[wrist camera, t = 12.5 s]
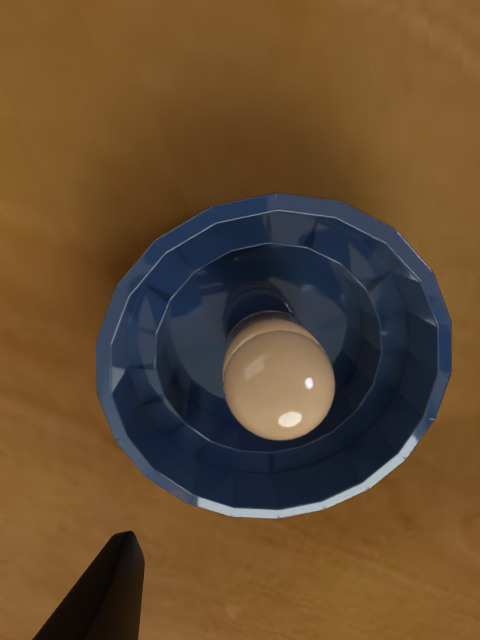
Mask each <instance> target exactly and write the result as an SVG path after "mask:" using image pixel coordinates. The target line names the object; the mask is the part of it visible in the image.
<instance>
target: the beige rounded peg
mask: <svg viewBox="0 0 480 640" xmlns="http://www.w3.org/2000/svg"><path fill="white" fill-rule="evenodd" d="M223 390H224V396H225V400H226V403H227V405H228V408H229V409H230V411H231V413H232V414H233V416H234V417H235V419H236V420H237V421H238V422H239V423H240V424H241V425H242V426H243V427H244V428H245V429H247V430H248V431H250V432H251V433H253V434H254V435H256V436H259V437H261V438H263V439H268V440H273V441H285V440H292V439H296V438H299V437H302V436H304V435H306V434H308V433H310V432H311V431H312V430H314V429H315V428H317V427H318V426H319V425H320V424H321V423H322V422H323V420H324V419H325V417H326V416H327V415H328V413H329V410H330V408H331V406H332V403H333V401H334V396H335V374H334V370H333V367H332V364H331V362H330V360H329V358H328V356H327V354H326V352H325V351H324V350H323V348H322V347H321V345H320V344H319V343H318V341H317V340H316V338H315V337H314V336H313V334H312V333H311V332H310V330H309V329H308V328H307V326H306V325H305V324H304V323H302V322H301V321H300V320H299V319H297V318H296V317H295V316H293V315H291V314H289V313H286V312H282V311H278V310H264V311H258V312H255V313H252V314H250V315H248V316H246V317H244V318H243V319H242V320H241V321H239V322H238V323H237V324H236V325H235V326H234V327H233V328H232V330H231V331H230V333H229V335H228V337H227V339H226V342H225V345H224V349H223Z"/></svg>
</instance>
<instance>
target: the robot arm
mask: <svg viewBox="0 0 480 640" xmlns="http://www.w3.org/2000/svg"><path fill="white" fill-rule="evenodd" d="M144 567H145V562H144V556H143V553H142V550H141V548H140V546H139V543H138V541H137V538H136V536H135V534H134V533H133V532H132V531H126V532H121V533H117V534H115V535H113V536H112V537H111V538H110V540H109V541H108V542H107V544H106V545H105V546H104V547H103V549H102V550H101V551H100V553H99V554H98V555H97V557H96V558H95V559H94V560H93V562H92V563H91V564H90V566H89V567H88V568H87V570H86V571H85V572H84V573H83V575H82V576H81V577H80V579H79V580H78V581H77V583H76V584H75V585H74V586H73V588H72V589H71V590H70V592H69V593H68V594H67V595H66V597H65V598H64V599H63V601H62V602H61V603H60V605H59V606H58V607H57V608H56V610H55V611H54V612H53V614H52V615H51V616H50V618H49V619H48V620H47V621H46V623H45V624H44V625H43V627H42V628H41V629H40V631H39V632H38V633H37V634H36V636H35V637H34V638H33V640H138V634H139V623H140V612H141V601H142V590H143V579H144Z"/></svg>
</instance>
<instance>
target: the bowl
mask: <svg viewBox="0 0 480 640" xmlns="http://www.w3.org/2000/svg"><path fill="white" fill-rule="evenodd" d="M264 310H278V311H282V312H286V313H289V314H291V315H293V316H295V317H296V318H297V319H299V320H300V321H301V322H302V323H304V324H305V325H306V326H307V328H308V329H309V330H310V332H311V333H312V334H313V336H314V337H315V338H316V340H317V341H318V343H319V344H320V345H321V347H322V348H323V350H324V351H325V352H326V354H327V356H328V358H329V360H330V362H331V364H332V367H333V370H334V374H335V396H334V401H333V403H332V406H331V408H330V410H329V413H328V415H327V416H326V417H325V419H324V420H323V422H322V423H321V424H320V425H319V426H318V427H317V428H315V429H314V430H312V431H311V432H310V433H308V434H306V435H304V436H302V437H299V438H296V439H292V440H285V441H273V440H268V439H263V438H261V437H259V436H256V435H254V434H253V433H251V432H250V431H248V430H247V429H245V428H244V427H243V426H242V425H241V424H240V423H239V422H238V421H237V420H236V419H235V417H234V416H233V414H232V413H231V411H230V409H229V408H228V405H227V403H226V400H225V396H224V390H223V349H224V345H225V342H226V339H227V337H228V335H229V333H230V331H231V330H232V328H233V327H234V326H235V325H236V324H237V323H238V322H239V321H241V320H242V319H243V318H244V317H246V316H248V315H250V314H252V313H255V312H258V311H264ZM451 322H452V321H451V318H450V315H449V313H448V310H447V307H446V304H445V302H444V299H443V296H442V293H441V291H440V288H439V285H438V283H437V280H436V277H435V274H434V273H433V271H432V270H431V269H430V268H429V266H428V265H427V264H426V263H425V262H424V261H423V260H422V258H421V257H420V256H419V255H418V254H417V253H416V252H415V250H414V249H413V248H412V247H411V246H410V245H409V244H408V243H407V241H406V240H405V239H404V238H403V237H402V236H401V235H400V233H399V232H398V231H397V230H395V228H393V227H391V226H389V225H387V224H385V223H383V222H381V221H379V220H377V219H375V218H374V217H372V216H370V215H368V214H366V213H364V212H362V211H360V210H358V209H356V208H354V207H352V206H351V205H349V204H347V203H345V202H341V201H339V200H332V199H324V198H316V197H309V196H301V195H293V194H286V193H271V194H266V195H261V196H257V197H252V198H247V199H242V200H238V201H233V202H228V203H223V204H218V205H214V206H212V207H209V208H207V209H205V210H204V211H202V212H200V213H199V214H197V215H195V216H194V217H192V218H190V219H189V220H187V221H185V222H184V223H182V224H180V225H179V226H177V227H175V228H174V229H172V230H170V231H169V232H167V233H165V234H164V235H162V236H160V237H158V238H157V239H156V240H155V241H153V242H152V244H151V245H150V246H149V247H148V248H147V250H146V251H145V252H144V253H143V254H142V256H141V257H140V258H139V259H138V260H137V262H136V263H135V264H134V265H133V266H132V268H131V269H130V270H129V271H128V272H127V274H126V275H125V276H124V277H123V278H122V280H121V281H120V282H119V283H118V284H117V286H116V288H115V289H114V292H113V295H112V298H111V300H110V303H109V306H108V309H107V312H106V314H105V317H104V320H103V323H102V326H101V328H100V331H99V334H98V337H97V341H96V384H97V394H98V398H99V401H100V403H101V406H102V409H103V411H104V414H105V416H106V419H107V422H108V424H109V427H110V429H111V432H112V434H113V437H114V439H115V441H116V443H117V444H118V445H119V446H120V447H121V449H122V450H123V451H124V452H125V453H126V455H127V456H128V457H129V458H130V459H131V461H132V462H133V463H134V464H135V465H136V466H137V468H138V469H139V470H140V471H141V472H142V474H143V475H144V476H145V477H146V478H148V479H149V480H151V481H152V482H154V483H155V484H157V485H159V486H160V487H162V488H163V489H165V490H166V491H168V492H169V493H171V494H173V495H174V496H176V497H177V498H179V499H180V500H182V501H183V502H186V503H188V504H191V505H194V506H197V507H201V508H204V509H207V510H210V511H214V512H217V513H220V514H224V515H227V516H231V517H249V518H271V519H278V518H284V517H289V516H294V515H299V514H304V513H310V512H315V511H320V510H324V508H325V509H327V508H329V507H331V506H334V505H336V504H338V503H340V502H342V501H344V500H347V499H349V498H351V497H353V496H355V495H357V494H360V493H362V492H364V491H366V490H368V489H370V488H371V487H373V486H374V485H375V484H376V483H378V482H379V481H380V480H381V479H382V478H384V477H385V476H386V475H387V474H389V473H390V472H391V471H392V470H394V469H395V468H396V467H397V466H399V465H400V464H401V463H402V462H404V461H405V460H406V458H408V456H409V455H410V453H411V452H412V451H413V449H414V448H415V447H416V445H417V444H418V442H419V441H420V440H421V438H422V437H423V435H424V434H425V433H426V431H427V430H428V429H429V427H430V426H431V424H432V423H433V422H434V419H435V418H436V416H437V413H438V410H439V407H440V404H441V401H442V398H443V395H444V393H445V390H446V387H447V384H448V381H449V378H450V375H451V363H452V323H451Z"/></svg>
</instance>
